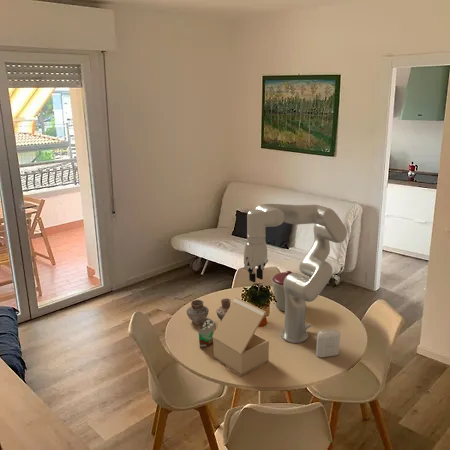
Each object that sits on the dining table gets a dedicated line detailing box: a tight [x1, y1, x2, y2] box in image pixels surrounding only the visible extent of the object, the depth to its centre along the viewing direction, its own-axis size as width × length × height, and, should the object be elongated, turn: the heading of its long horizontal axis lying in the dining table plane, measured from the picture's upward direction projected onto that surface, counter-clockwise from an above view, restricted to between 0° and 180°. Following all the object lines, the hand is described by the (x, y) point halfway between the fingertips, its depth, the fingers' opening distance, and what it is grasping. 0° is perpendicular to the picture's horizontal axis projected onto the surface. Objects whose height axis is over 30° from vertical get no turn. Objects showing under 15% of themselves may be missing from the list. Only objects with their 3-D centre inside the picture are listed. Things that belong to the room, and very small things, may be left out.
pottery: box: [186, 298, 232, 325], centre depth 235 cm, size 11×25×12 cm, turn 88°
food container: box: [198, 317, 216, 349], centre depth 216 cm, size 12×6×10 cm, turn 168°
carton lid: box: [212, 296, 267, 354], centre depth 198 cm, size 20×18×1 cm
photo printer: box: [315, 328, 341, 358], centre depth 205 cm, size 10×4×12 cm, turn 103°
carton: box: [212, 332, 270, 377], centre depth 203 cm, size 16×18×10 cm
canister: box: [271, 270, 301, 312], centre depth 247 cm, size 18×18×21 cm
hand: (256, 279), depth 199 cm, fingers open, 3 cm apart
